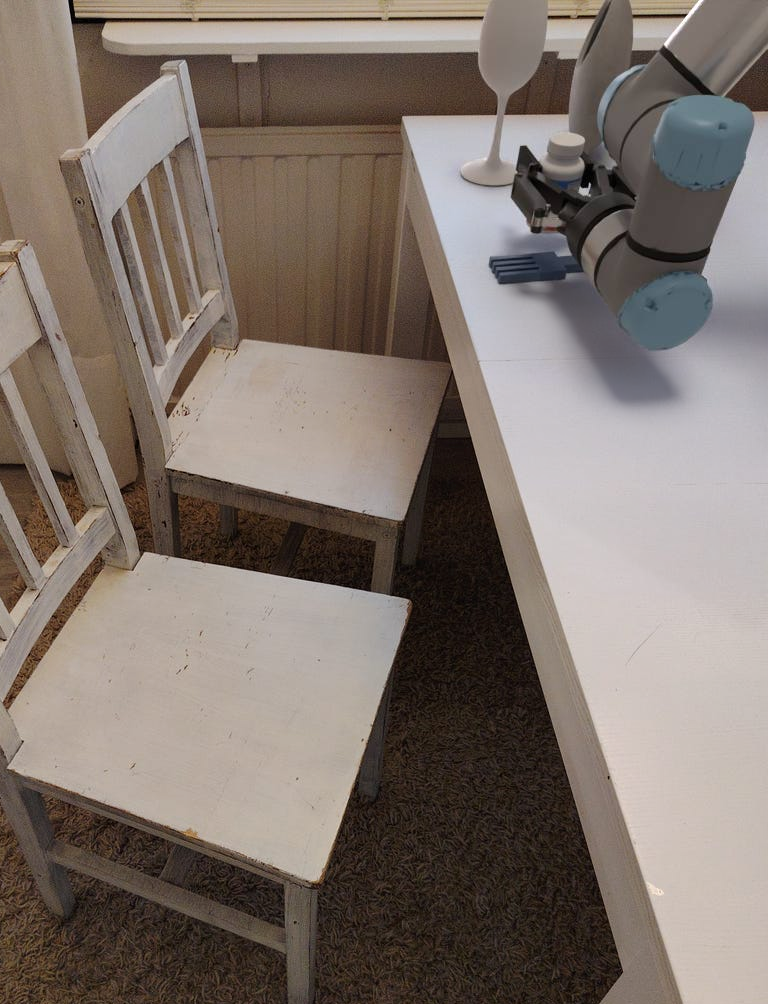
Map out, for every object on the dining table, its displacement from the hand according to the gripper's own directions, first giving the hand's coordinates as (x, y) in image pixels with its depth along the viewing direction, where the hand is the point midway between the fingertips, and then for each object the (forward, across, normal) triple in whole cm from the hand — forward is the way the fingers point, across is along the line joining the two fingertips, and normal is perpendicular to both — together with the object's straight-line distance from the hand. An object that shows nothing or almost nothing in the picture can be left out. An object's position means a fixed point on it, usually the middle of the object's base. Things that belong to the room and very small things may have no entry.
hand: (545, 156), depth 100 cm
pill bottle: (-5, 0, -6) cm, 8 cm away
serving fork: (-12, +2, -8) cm, 15 cm away
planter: (+21, +14, -8) cm, 26 cm away
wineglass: (+16, -1, -8) cm, 18 cm away
